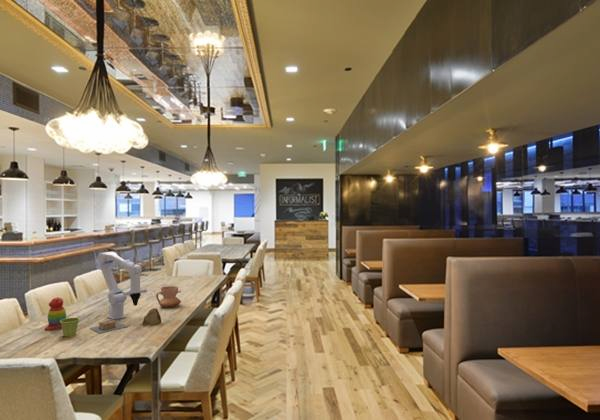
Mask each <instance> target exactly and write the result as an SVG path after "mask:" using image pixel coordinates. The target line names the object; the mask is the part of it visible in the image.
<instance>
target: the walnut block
mask: <svg viewBox="0 0 600 420" xmlns="http://www.w3.org/2000/svg"><path fill="white" fill-rule="evenodd" d="M115 322H116V321H115V320H114V319H108V320H104V321H98V326H99V329H101V330H107V329H111V328H115Z"/></svg>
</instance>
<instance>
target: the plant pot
mask: <svg viewBox="0 0 600 420" xmlns="http://www.w3.org/2000/svg"><path fill="white" fill-rule="evenodd" d="M80 320H81V319H80V318H79V317H69V318H68V317H66V319H63V320H61V321H60V322H61V325H62V328H61V329H62V330H61V331H62V336H63V338H64V337H65V338H66V337H68V338H69V337H74V336H76V335H77V331H78V330H77V329H78V324H79V321H80Z"/></svg>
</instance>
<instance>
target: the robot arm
mask: <svg viewBox="0 0 600 420" xmlns="http://www.w3.org/2000/svg"><path fill="white" fill-rule="evenodd" d="M97 261H98V265H99V268H100V271H101V273H102V275H103V278H104V281H105V283H106V285H107V287H108V291H109V292H108V294H107V298H108V303H109V304H110V305H109V307H108V308H109V310H108V311H109V315H108V316H107V318H108V319H110V320H113V321H115V320H119V319H123V318H126V317H127V316H126V315H125V314H124V313H125V312H124V309H125V307H124V305H125V302H126V300H127V296H129V297H130V299H131V300H132V304H133V306H135V307H136V306H138V303H139V299H140V298H141V295H142V294H143V293H147V292H148V289H147V288H142V289H141V273H142V272H143V267H142V265H140V264H136V263H134V262H133V261H132V262H131V260H130V259H123V258H122V257H120V256H119V255H118V253H117V252H115V251H107V252H106V251H105V252H99V254H98V256H97ZM114 262H115V263H116V264H119V265H120V266H121V268H122V269H124V270H126V271H127V272H128V274H129V277H130V284H129V285H130V287H129V288H130V289H129V291H124V290H123V289H121V288H119V286H118V283H117V281H116V277H115V276H114V273H113V271H112V268H111V265H113V263H114Z"/></svg>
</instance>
